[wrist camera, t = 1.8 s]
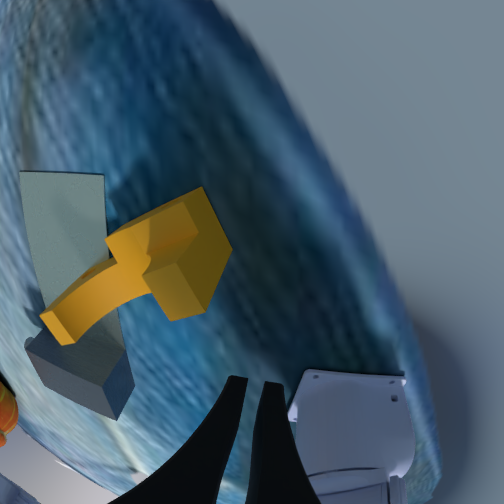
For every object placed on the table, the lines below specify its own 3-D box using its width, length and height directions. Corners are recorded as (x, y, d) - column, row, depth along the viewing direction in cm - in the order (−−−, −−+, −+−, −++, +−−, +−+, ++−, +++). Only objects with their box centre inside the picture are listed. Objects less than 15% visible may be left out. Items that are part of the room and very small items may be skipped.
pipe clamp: (201, 186, 17) (155, 224, 11) (232, 249, 18) (205, 312, 12) (77, 250, 20) (24, 293, 14) (104, 295, 21) (61, 345, 16)
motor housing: (104, 175, 17) (54, 196, 13) (135, 386, 27) (116, 421, 22) (3, 171, 18) (-36, 188, 14) (48, 349, 28) (27, 375, 23)
